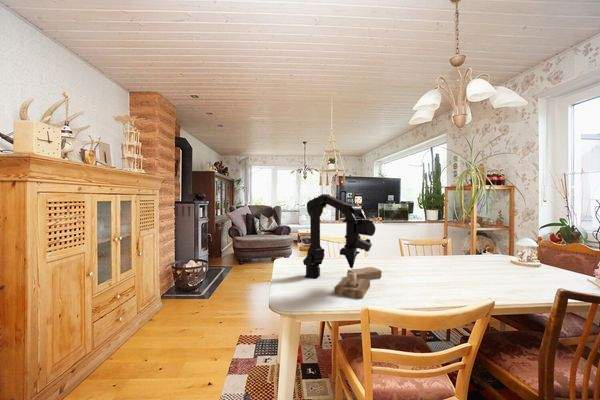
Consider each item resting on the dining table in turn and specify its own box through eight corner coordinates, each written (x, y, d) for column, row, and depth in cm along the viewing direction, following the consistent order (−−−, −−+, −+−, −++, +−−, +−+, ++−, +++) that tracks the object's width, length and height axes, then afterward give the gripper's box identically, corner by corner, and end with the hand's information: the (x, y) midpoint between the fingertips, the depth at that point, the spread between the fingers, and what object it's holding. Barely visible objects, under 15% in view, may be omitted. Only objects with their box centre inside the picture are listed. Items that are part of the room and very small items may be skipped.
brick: (355, 282, 140) (355, 272, 140) (346, 277, 148) (346, 268, 148) (382, 279, 147) (382, 270, 147) (372, 274, 154) (372, 266, 154)
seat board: (334, 294, 122) (334, 287, 122) (344, 282, 138) (345, 276, 138) (362, 298, 117) (362, 291, 117) (370, 286, 133) (370, 279, 133)
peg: (345, 292, 124) (345, 274, 124) (347, 289, 127) (348, 272, 127) (355, 294, 122) (355, 275, 122) (357, 291, 126) (357, 273, 126)
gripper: (366, 237, 116) (365, 275, 116) (374, 232, 133) (373, 265, 133) (339, 235, 120) (338, 271, 121) (350, 230, 137) (350, 262, 138)
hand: (351, 267), depth 128 cm, fingers closed
